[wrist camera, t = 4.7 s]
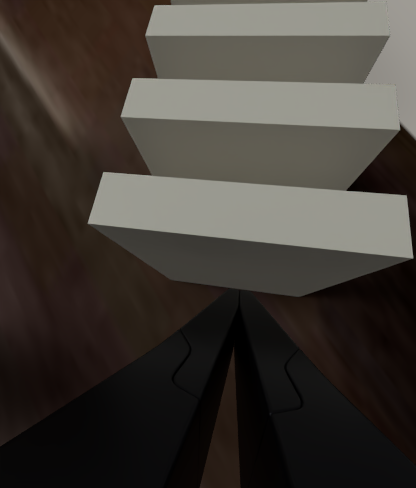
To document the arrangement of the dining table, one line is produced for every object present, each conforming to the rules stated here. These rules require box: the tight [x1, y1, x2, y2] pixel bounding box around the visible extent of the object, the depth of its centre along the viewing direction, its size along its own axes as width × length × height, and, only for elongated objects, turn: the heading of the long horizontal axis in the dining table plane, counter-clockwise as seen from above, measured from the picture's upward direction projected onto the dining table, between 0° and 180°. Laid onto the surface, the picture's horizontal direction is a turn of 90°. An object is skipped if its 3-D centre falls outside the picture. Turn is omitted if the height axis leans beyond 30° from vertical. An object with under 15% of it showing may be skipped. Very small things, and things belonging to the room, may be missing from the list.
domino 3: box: [145, 1, 390, 84], centre depth 16 cm, size 2×10×12 cm, turn 82°
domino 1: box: [88, 172, 413, 297], centre depth 13 cm, size 2×10×12 cm, turn 82°
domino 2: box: [121, 78, 400, 191], centre depth 15 cm, size 2×10×12 cm, turn 82°
